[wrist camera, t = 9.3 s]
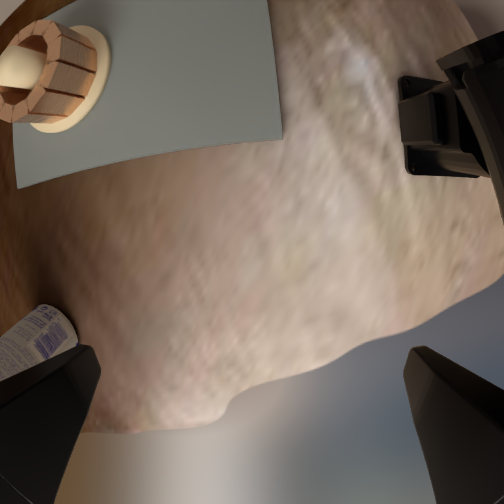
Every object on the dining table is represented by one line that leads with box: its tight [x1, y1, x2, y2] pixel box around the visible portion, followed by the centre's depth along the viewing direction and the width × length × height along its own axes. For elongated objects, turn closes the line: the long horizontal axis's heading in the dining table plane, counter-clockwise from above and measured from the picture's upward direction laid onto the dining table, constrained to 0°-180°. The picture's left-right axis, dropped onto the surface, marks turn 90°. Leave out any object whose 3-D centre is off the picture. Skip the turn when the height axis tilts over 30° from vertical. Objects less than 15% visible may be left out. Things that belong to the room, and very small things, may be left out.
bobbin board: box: [0, 0, 283, 189], centre depth 12 cm, size 20×14×7 cm
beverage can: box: [0, 304, 78, 381], centre depth 15 cm, size 6×6×15 cm
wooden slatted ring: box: [0, 20, 97, 124], centre depth 12 cm, size 6×6×4 cm
